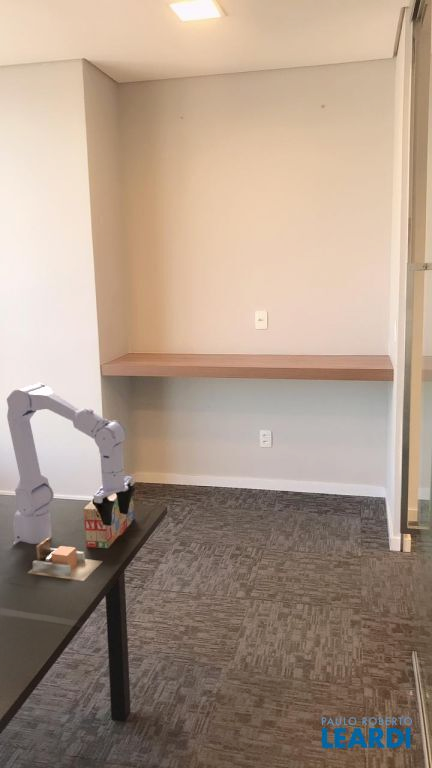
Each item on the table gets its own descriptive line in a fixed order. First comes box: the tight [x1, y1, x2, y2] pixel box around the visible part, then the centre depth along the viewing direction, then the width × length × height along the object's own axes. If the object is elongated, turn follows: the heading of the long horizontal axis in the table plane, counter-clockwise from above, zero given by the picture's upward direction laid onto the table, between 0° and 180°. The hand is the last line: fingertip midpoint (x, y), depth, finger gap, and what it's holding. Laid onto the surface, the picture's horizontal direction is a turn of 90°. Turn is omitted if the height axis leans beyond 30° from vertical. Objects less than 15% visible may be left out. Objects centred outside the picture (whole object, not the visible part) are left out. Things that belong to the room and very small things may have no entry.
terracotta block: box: [51, 545, 77, 569], centre depth 158 cm, size 4×4×4 cm
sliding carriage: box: [35, 538, 54, 563], centre depth 159 cm, size 4×5×6 cm
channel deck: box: [27, 547, 103, 582], centre depth 158 cm, size 16×10×4 cm, turn 73°
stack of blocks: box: [83, 493, 135, 549], centre depth 177 cm, size 21×6×12 cm, turn 168°
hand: (115, 519), depth 164 cm, fingers open, 7 cm apart
